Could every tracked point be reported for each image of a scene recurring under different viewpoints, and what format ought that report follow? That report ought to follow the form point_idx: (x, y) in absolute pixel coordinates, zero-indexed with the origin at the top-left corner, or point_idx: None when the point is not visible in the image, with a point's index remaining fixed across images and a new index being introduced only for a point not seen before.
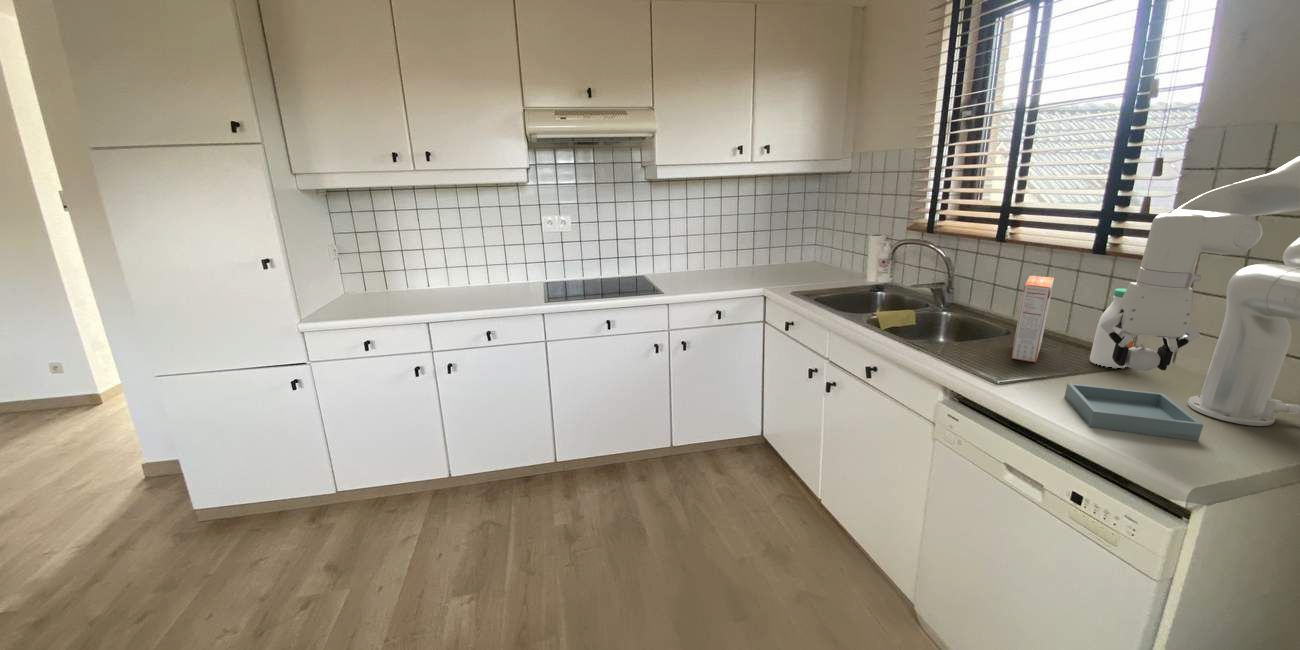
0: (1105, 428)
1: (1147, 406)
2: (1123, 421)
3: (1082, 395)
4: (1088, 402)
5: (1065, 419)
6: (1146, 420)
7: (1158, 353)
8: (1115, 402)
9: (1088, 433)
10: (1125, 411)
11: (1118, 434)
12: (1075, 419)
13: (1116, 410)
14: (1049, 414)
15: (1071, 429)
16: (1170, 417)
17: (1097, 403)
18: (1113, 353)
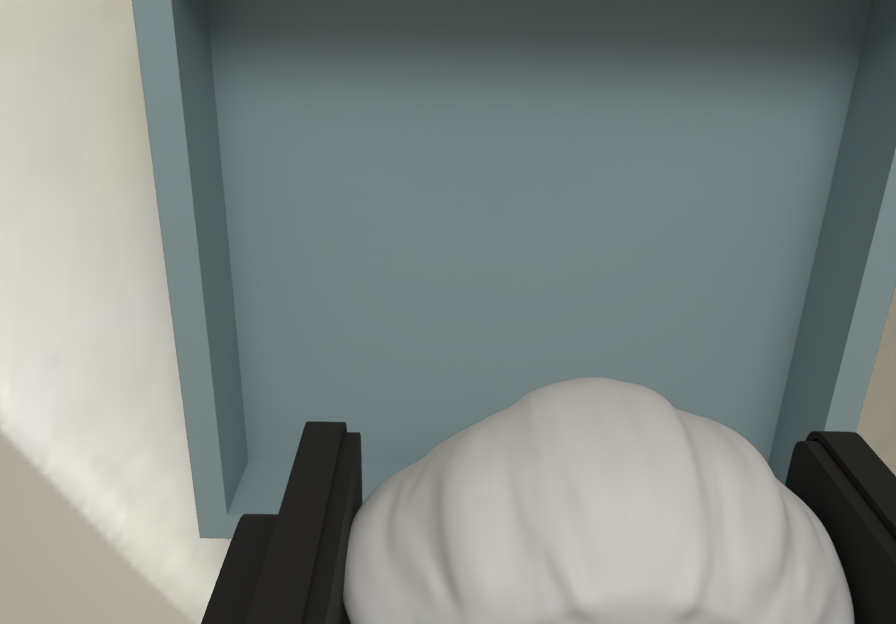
0: None
1: (766, 53)
2: None
3: (194, 249)
4: (204, 392)
5: (113, 391)
6: None
7: (883, 611)
8: (535, 41)
9: (205, 540)
10: (527, 225)
11: None
12: (175, 372)
13: (468, 225)
14: (24, 341)
15: (124, 517)
16: (805, 244)
17: (375, 114)
18: (228, 564)
